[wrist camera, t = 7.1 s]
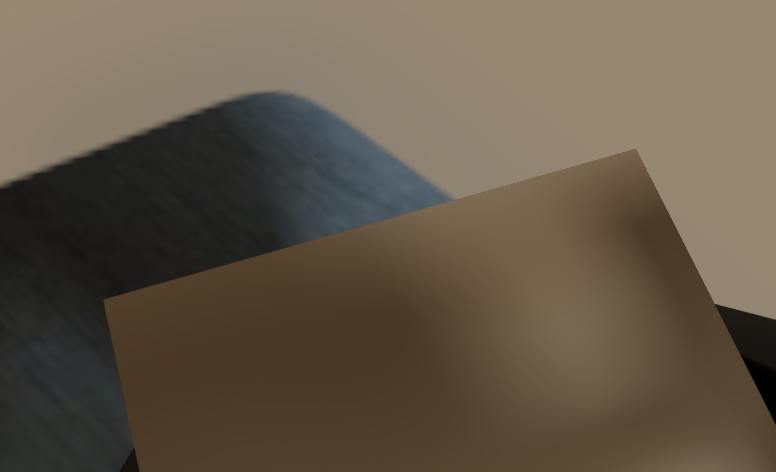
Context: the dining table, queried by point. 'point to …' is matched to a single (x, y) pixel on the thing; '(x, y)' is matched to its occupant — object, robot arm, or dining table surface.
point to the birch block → (451, 345)
